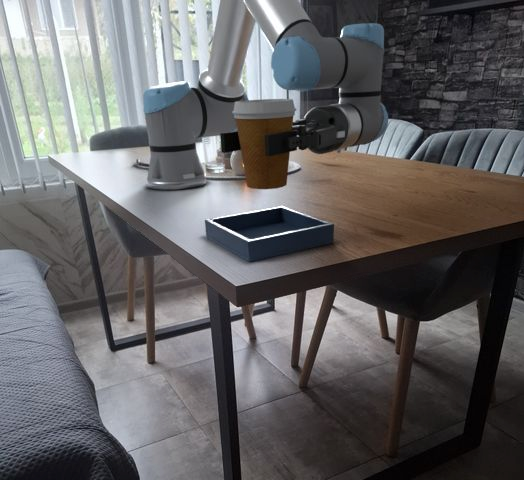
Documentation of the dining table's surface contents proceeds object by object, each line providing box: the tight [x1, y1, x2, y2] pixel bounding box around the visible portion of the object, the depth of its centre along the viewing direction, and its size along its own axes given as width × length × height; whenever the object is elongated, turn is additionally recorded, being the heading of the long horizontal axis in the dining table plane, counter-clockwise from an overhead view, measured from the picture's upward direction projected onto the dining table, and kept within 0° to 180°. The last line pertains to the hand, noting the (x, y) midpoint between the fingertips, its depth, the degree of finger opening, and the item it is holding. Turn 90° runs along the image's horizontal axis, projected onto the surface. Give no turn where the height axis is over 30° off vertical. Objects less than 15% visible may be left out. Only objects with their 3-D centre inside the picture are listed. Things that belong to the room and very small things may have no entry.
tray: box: [204, 205, 335, 263], centre depth 80 cm, size 16×16×3 cm
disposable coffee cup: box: [232, 98, 297, 190], centre depth 74 cm, size 10×10×12 cm
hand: (244, 144), depth 70 cm, fingers closed on disposable coffee cup, 8 cm apart
